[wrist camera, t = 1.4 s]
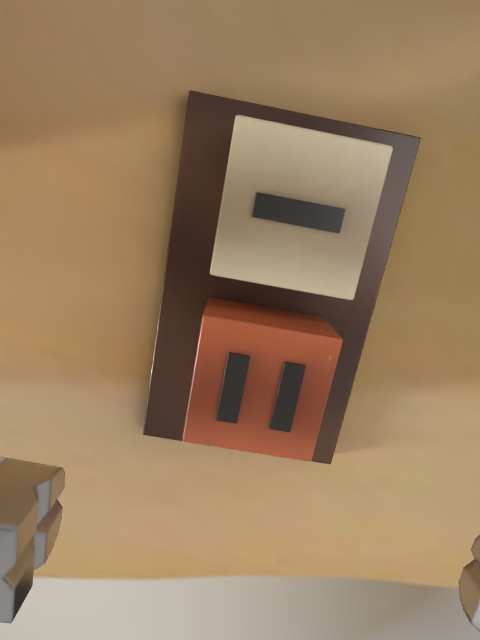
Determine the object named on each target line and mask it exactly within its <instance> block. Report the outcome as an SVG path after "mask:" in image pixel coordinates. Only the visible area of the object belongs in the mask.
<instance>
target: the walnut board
mask: <svg viewBox="0 0 480 640" xmlns="http://www.w3.org/2000/svg"><path fill="white" fill-rule="evenodd" d="M236 115H242V116H247V117H252V118H257V119H262V120H267V121H272V122H277V123H281V124H286V125H291V126H296V127H301V128H306V129H311V130H316V131H321V132H326V133H331V134H336V135H341V136H346V137H351V138H355V139H360V140H365V141H370V142H375V143H380V144H385V145H390V146H392V147H393V151H392V155H391V158H390V162H389V166H388V170H387V174H386V178H385V181H384V185H383V189H382V193H381V197H380V201H379V204H378V208H377V212H376V216H375V220H374V223H373V227H372V231H371V235H370V239H369V243H368V246H367V250H366V254H365V258H364V262H363V266H362V269H361V273H360V277H359V281H358V285H357V288H356V292H355V296H354V299H353V300H347V299H341V298H336V297H330V296H325V295H319V294H314V293H308V292H302V291H297V290H291V289H286V288H280V287H275V286H269V285H264V284H258V283H253V282H247V281H242V280H236V279H230V278H225V277H219V276H214V275H211V274H210V267H211V261H212V255H213V249H214V243H215V237H216V231H217V225H218V219H219V213H220V207H221V201H222V195H223V188H224V182H225V176H226V170H227V164H228V158H229V152H230V146H231V140H232V134H233V128H234V122H235V117H236ZM419 143H420V137H415V136H410V135H405V134H401V133H396V132H391V131H386V130H381V129H376V128H371V127H366V126H361V125H357V124H352V123H347V122H342V121H337V120H332V119H327V118H322V117H318V116H313V115H308V114H303V113H298V112H293V111H288V110H283V109H278V108H274V107H269V106H264V105H259V104H254V103H249V102H244V101H239V100H235V99H230V98H225V97H220V96H215V95H210V94H205V93H200V92H195V91H189V97H188V104H187V112H186V119H185V126H184V134H183V141H182V148H181V156H180V163H179V170H178V178H177V185H176V193H175V200H174V207H173V215H172V222H171V229H170V237H169V244H168V251H167V259H166V266H165V274H164V281H163V288H162V296H161V303H160V310H159V318H158V325H157V332H156V340H155V347H154V355H153V362H152V369H151V377H150V384H149V391H148V399H147V406H146V414H145V421H144V428H143V435H148V436H154V437H160V438H167V439H173V440H179V441H183V439H182V438H183V431H184V425H185V419H186V413H187V407H188V401H189V395H190V389H191V383H192V377H193V371H194V365H195V359H196V352H197V346H198V340H199V334H200V328H201V322H202V316H203V313H204V310H205V307H206V304H207V301H208V298H209V297H213V298H218V299H224V300H230V301H235V302H241V303H247V304H252V305H258V306H263V307H269V308H275V309H280V310H286V311H292V312H297V313H303V314H309V315H314V316H320V317H324V318H325V319H326V320H327V321H328V322H329V324H330V325H331V326H332V327H333V328H334V330H335V331H336V332H337V333H338V335H339V336H340V337H341V338H342V340H343V342H342V346H341V350H340V354H339V358H338V361H337V365H336V369H335V373H334V377H333V380H332V384H331V388H330V392H329V396H328V400H327V403H326V407H325V411H324V415H323V419H322V423H321V426H320V430H319V434H318V438H317V442H316V445H315V449H314V453H313V457H312V460H311V461H313V462H319V463H325V464H331V461H332V458H333V454H334V450H335V447H336V443H337V440H338V436H339V432H340V429H341V425H342V422H343V418H344V414H345V411H346V407H347V403H348V400H349V396H350V393H351V389H352V385H353V382H354V378H355V374H356V371H357V367H358V364H359V360H360V356H361V353H362V349H363V345H364V342H365V338H366V335H367V331H368V327H369V324H370V320H371V317H372V313H373V309H374V306H375V302H376V298H377V295H378V291H379V288H380V284H381V280H382V277H383V273H384V269H385V266H386V262H387V259H388V255H389V251H390V248H391V244H392V240H393V237H394V233H395V230H396V226H397V222H398V219H399V215H400V212H401V208H402V204H403V201H404V197H405V193H406V190H407V186H408V183H409V179H410V175H411V172H412V168H413V164H414V161H415V157H416V154H417V150H418V146H419Z"/></svg>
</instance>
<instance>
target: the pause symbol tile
mask: <svg viewBox="0 0 480 640" xmlns="http://www.w3.org/2000/svg"><path fill="white" fill-rule="evenodd" d="M342 342H343V340H342V338H341V337H340V336H339V335H338V333H337V332H336V331H335V330H334V328H333V327H332V326H331V325H330V324H329V322H328V321H327V320H326V319H325V318H324V317H320V316H314V315H309V314H303V313H297V312H292V311H286V310H280V309H275V308H269V307H263V306H258V305H252V304H247V303H241V302H235V301H230V300H224V299H218V298H213V297H209V298H208V301H207V304H206V307H205V310H204V313H203V316H202V322H201V328H200V334H199V340H198V346H197V352H196V359H195V365H194V371H193V377H192V383H191V389H190V395H189V401H188V407H187V413H186V419H185V425H184V431H183V438H182V439H183V441H184V442H190V443H197V444H203V445H209V446H216V447H222V448H228V449H235V450H241V451H247V452H254V453H260V454H266V455H273V456H279V457H286V458H292V459H298V460H305V461H311V460H312V457H313V453H314V449H315V445H316V442H317V438H318V434H319V430H320V426H321V423H322V419H323V415H324V411H325V407H326V403H327V400H328V396H329V392H330V388H331V384H332V380H333V377H334V373H335V369H336V365H337V361H338V358H339V354H340V350H341V346H342Z"/></svg>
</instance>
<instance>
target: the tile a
mask: <svg viewBox="0 0 480 640" xmlns="http://www.w3.org/2000/svg"><path fill="white" fill-rule="evenodd" d="M392 151H393V147H392V146H390V145H385V144H380V143H375V142H370V141H365V140H360V139H355V138H351V137H346V136H341V135H336V134H331V133H326V132H321V131H316V130H311V129H306V128H301V127H296V126H291V125H286V124H281V123H277V122H272V121H267V120H262V119H257V118H252V117H247V116H242V115H236V117H235V122H234V128H233V134H232V140H231V146H230V152H229V158H228V164H227V170H226V176H225V182H224V188H223V195H222V201H221V207H220V213H219V219H218V225H217V231H216V237H215V243H214V249H213V255H212V261H211V267H210V274H211V275H214V276H219V277H225V278H230V279H236V280H242V281H247V282H253V283H258V284H264V285H269V286H275V287H280V288H286V289H291V290H297V291H302V292H308V293H314V294H319V295H325V296H330V297H336V298H341V299H347V300H353V299H354V296H355V292H356V288H357V285H358V281H359V277H360V273H361V269H362V266H363V262H364V258H365V254H366V250H367V246H368V243H369V239H370V235H371V231H372V227H373V223H374V220H375V216H376V212H377V208H378V204H379V201H380V197H381V193H382V189H383V185H384V181H385V178H386V174H387V170H388V166H389V162H390V158H391V155H392Z"/></svg>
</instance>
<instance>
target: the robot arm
mask: <svg viewBox="0 0 480 640" xmlns="http://www.w3.org/2000/svg"><path fill="white" fill-rule="evenodd" d="M64 485H65V471H64V469H63V468H62V467H56V466H51V465H45V464H39V463H34V462H28V461H23V460H17V459H11V458H10V459H8V458H4V457H0V622H2V623H12V621H13V619H14V618H15V616H16V614H17V612H18V611H19V609H20V607H21V605H22V603H23V602H24V600H25V598H26V596H27V594H28V593H29V591H30V589H31V587H32V583H33V571H34V570H35V569H37V568H38V567H40V566H41V565H43V564H44V563H45V562H46V560H47V558H48V556H49V554H50V552H51V551H52V548H53V546H54V543H55V540H56V537H57V535H58V532H59V527H60V523H61V518H62V506H61V504H60V503H59V501H58V500H57V498H58V497H59V495H60V494H61V492H62V490H63V489H64ZM471 551H472V554H473V556H474V559H475V560H473V561H472V562H470V563H469V564H468V565H466V566H465V567H464V568H463V571H462V574H461V577H460V580H459V595H460V600H461V603H462V607H463V610H464V611H465V614H466V615H467V617H468V619H469V621H470V623H471V624H472V625H473V626H474V627H476V629H477V630H479V631H480V535H479V536H478V537H477V538H475V541H474V543H473V545H472V548H471Z"/></svg>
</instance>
